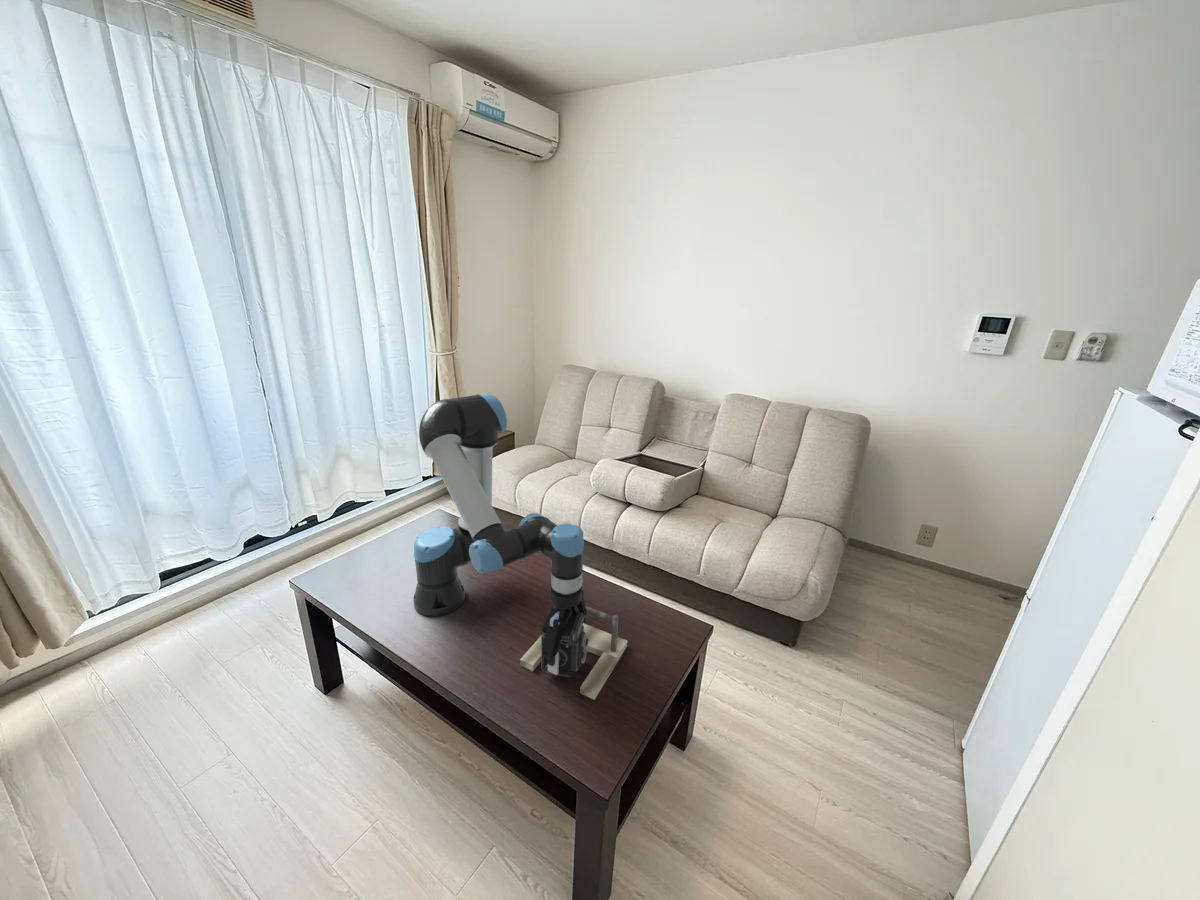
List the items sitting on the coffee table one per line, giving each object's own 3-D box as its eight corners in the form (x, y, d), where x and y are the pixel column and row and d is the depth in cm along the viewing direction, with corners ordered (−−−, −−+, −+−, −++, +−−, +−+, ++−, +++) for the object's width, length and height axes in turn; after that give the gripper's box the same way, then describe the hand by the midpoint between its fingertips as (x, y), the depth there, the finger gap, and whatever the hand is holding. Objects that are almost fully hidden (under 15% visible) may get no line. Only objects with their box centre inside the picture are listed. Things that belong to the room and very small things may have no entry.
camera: (580, 685, 114) (581, 637, 109) (539, 676, 116) (539, 629, 111) (589, 654, 124) (591, 609, 118) (551, 646, 126) (552, 602, 120)
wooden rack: (520, 665, 121) (519, 625, 116) (559, 619, 138) (560, 583, 133) (594, 700, 112) (596, 658, 107) (627, 646, 129) (630, 608, 124)
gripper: (554, 620, 100) (553, 696, 107) (602, 565, 119) (598, 632, 127) (525, 608, 103) (526, 683, 110) (576, 557, 122) (574, 623, 130)
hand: (565, 656), depth 119 cm, fingers closed on camera, 11 cm apart
